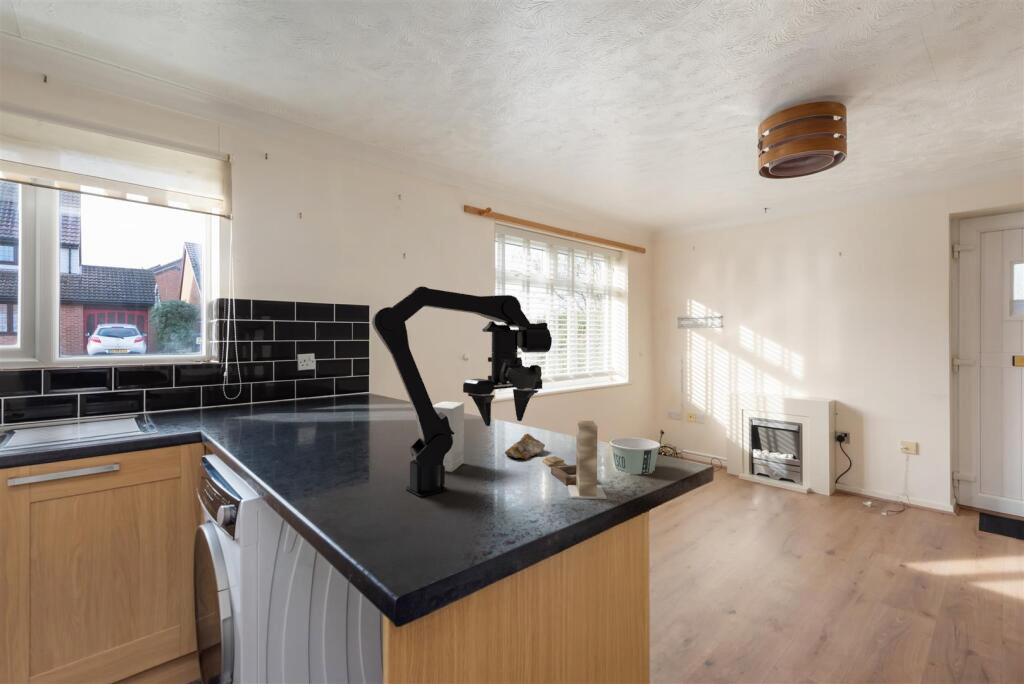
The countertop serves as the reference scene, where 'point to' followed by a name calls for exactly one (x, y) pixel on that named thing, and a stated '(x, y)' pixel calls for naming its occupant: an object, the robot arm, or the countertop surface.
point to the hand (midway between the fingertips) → (504, 423)
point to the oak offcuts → (553, 461)
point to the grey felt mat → (575, 494)
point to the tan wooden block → (586, 458)
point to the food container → (634, 455)
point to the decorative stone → (525, 447)
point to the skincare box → (457, 426)
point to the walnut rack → (564, 474)
